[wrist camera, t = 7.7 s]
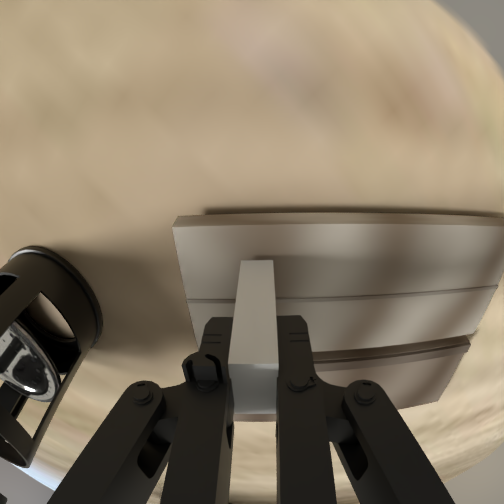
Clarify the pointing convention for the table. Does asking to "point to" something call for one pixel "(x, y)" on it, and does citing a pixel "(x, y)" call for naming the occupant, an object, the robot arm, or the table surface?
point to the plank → (348, 272)
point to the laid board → (390, 370)
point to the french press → (39, 343)
